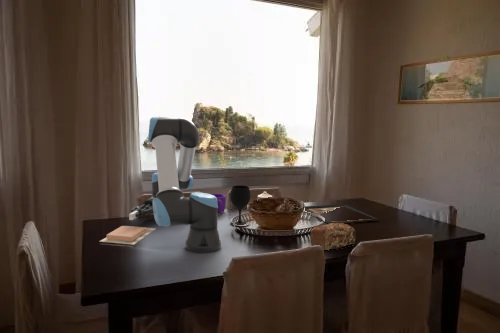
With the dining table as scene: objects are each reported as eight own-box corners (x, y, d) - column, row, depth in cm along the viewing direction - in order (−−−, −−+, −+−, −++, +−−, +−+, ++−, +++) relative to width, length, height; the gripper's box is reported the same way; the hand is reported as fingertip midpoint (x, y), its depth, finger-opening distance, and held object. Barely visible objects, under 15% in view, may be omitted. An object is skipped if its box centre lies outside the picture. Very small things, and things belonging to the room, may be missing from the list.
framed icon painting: (295, 210, 235) (295, 205, 235) (341, 206, 250) (341, 202, 249) (332, 228, 201) (333, 223, 200) (383, 222, 216) (384, 218, 215)
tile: (122, 225, 180) (106, 234, 167) (146, 227, 179) (132, 236, 165) (122, 230, 181) (106, 239, 167) (146, 232, 179) (132, 242, 165)
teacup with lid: (274, 212, 227) (274, 193, 226) (259, 213, 225) (260, 193, 223) (267, 207, 239) (268, 189, 237) (253, 208, 236) (254, 189, 235)
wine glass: (226, 225, 198) (227, 187, 195) (234, 220, 207) (235, 184, 205) (244, 228, 194) (245, 189, 191) (252, 223, 204) (253, 186, 201)
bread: (324, 253, 162) (326, 230, 161) (308, 245, 171) (309, 223, 170) (356, 246, 172) (357, 224, 171) (339, 239, 181) (340, 218, 180)
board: (125, 228, 188) (125, 225, 188) (156, 230, 186) (156, 228, 186) (99, 244, 165) (99, 241, 165) (134, 247, 163) (134, 244, 162)
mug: (203, 210, 228) (203, 193, 226) (221, 209, 232) (222, 192, 230) (212, 217, 212) (212, 200, 210) (231, 216, 216) (231, 199, 215)
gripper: (163, 213, 198) (144, 226, 175) (139, 211, 200) (117, 224, 177) (163, 199, 197) (144, 210, 174) (139, 197, 199) (117, 208, 176)
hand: (130, 217), depth 176 cm, fingers closed
